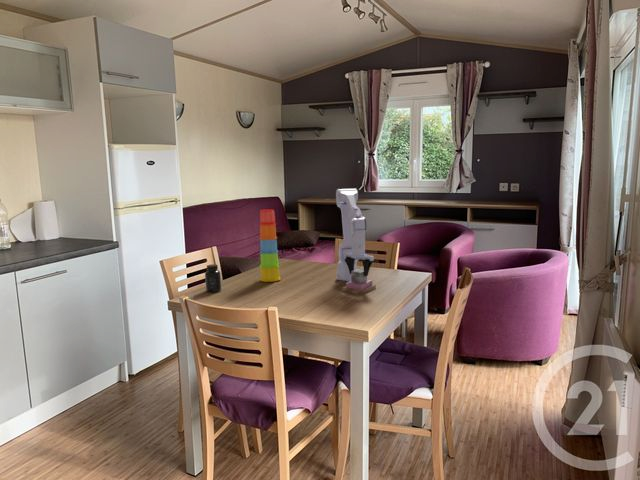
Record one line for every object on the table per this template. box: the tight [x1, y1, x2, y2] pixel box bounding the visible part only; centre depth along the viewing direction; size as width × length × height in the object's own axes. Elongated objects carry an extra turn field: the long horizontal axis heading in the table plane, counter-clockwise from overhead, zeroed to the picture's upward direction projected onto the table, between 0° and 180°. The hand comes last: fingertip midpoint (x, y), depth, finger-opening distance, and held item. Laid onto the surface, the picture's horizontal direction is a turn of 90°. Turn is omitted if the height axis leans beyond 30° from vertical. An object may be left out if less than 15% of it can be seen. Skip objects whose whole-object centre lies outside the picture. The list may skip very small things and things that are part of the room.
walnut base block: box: [341, 283, 377, 295], centre depth 219 cm, size 10×12×2 cm
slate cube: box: [351, 268, 368, 284], centre depth 218 cm, size 5×5×5 cm
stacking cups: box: [259, 209, 282, 283], centre depth 237 cm, size 10×10×35 cm
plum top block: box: [345, 279, 373, 290], centre depth 218 cm, size 8×10×2 cm
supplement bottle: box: [204, 263, 222, 294], centre depth 221 cm, size 7×7×12 cm
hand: (358, 274), depth 218 cm, fingers open, 7 cm apart
